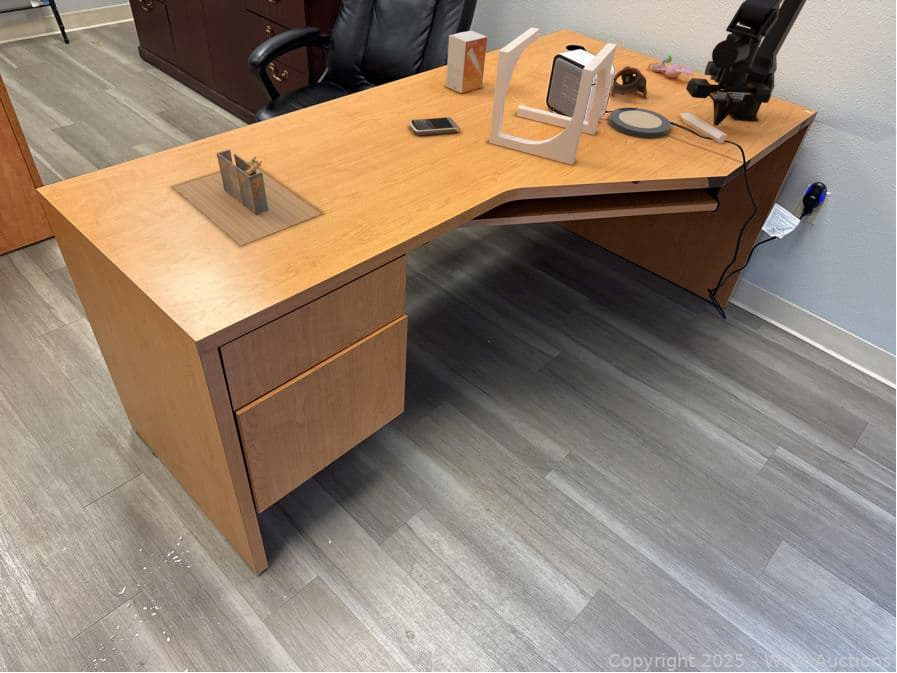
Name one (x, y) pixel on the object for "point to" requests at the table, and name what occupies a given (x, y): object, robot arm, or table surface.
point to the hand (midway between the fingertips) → (715, 125)
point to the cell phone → (434, 126)
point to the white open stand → (568, 139)
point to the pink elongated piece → (670, 68)
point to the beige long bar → (703, 127)
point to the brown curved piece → (629, 82)
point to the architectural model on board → (245, 200)
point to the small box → (466, 61)
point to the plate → (639, 122)
